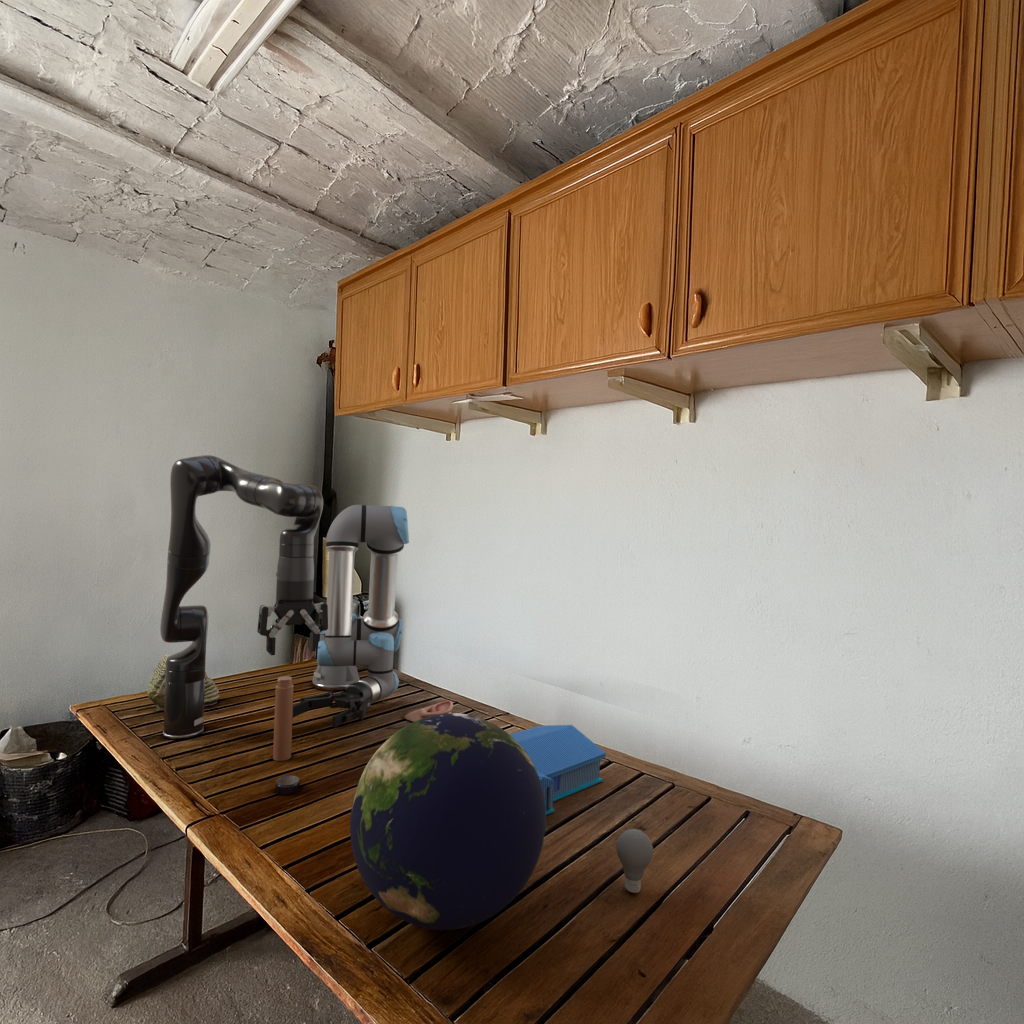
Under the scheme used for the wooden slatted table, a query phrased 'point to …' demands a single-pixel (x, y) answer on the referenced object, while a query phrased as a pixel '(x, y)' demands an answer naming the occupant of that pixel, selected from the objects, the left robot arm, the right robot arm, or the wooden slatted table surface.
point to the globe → (448, 821)
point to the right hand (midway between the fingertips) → (311, 717)
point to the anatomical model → (430, 711)
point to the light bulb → (634, 857)
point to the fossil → (158, 687)
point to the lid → (287, 785)
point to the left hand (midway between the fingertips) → (292, 652)
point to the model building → (561, 760)
